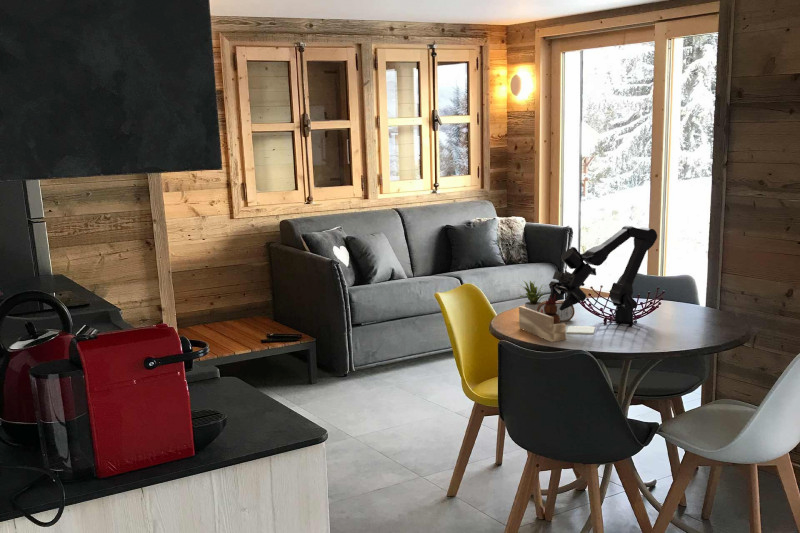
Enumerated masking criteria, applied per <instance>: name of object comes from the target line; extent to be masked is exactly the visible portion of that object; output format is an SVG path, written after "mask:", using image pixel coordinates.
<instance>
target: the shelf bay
mask: <svg viewBox="0 0 800 533" xmlns="http://www.w3.org/2000/svg"><path fill="white" fill-rule="evenodd" d="M518 323H519V324H518V327H519V328H521V329H524V330H526V331H528V332H527V333H529V332H531V333H533V334H532V335H534V334H535V335H534V336H536V335H537V336H536V337H538V336H539V337H538V338H541V339H543V338H544V339H543V340H545V341H546V340H547V341H548V342H557V341H558V342H559V341H565V340H567V339H566V338H567V331H566V328H567V327H566V326H567V325H566V323H564V322H563V323H562V322H560V324H554V318H553V317H551V316H548V315H546V314H543V313H540V312H537V311H534V310H531V309H529V308H526V307H525V306H523V305H520V306H518ZM519 328H518V329H519ZM521 329H520V330H521ZM524 330H523V331H524ZM526 331H525V332H526ZM531 333H530V334H531Z"/></svg>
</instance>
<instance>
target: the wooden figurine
mask: <svg viewBox="0 0 800 533" xmlns="http://www.w3.org/2000/svg"><path fill="white" fill-rule="evenodd" d="M545 301H546V305H545V306H544V312H545V314H546V315H548V316H551V317H553V318H554V324H561V322H560V317H559V315H558V314H556V312H557V306H556V294H555V295H554V299H553V300H552V296H551V298H550V300H549V297H548V298H547V300H545Z"/></svg>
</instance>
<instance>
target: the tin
mask: <svg viewBox="0 0 800 533" xmlns="http://www.w3.org/2000/svg"><path fill="white" fill-rule="evenodd" d="M563 302H564V300H557V301H556V306H557V312H556V314H558V315H559V317H560V323H562V322H563V323H564V322H568V321H570V320H572V319H573V317H574V316H575V312H576V311H575V307H574V305H572V306H570V307H568V308H566V309H564V310H562V311H561V310H560V309H559V308H560V307H561V305H562V303H563ZM545 305H546V300H544V301H541V303H540V304H539V306H538V308H537V312H540V313H543V314H545V312H544V306H545Z"/></svg>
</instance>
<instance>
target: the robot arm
mask: <svg viewBox="0 0 800 533" xmlns="http://www.w3.org/2000/svg"><path fill="white" fill-rule="evenodd" d="M631 238H633V249H632V252H631V254H630V257H629V259H628V261H627V263H626V267H625V268H624V271H623V274H622V276H621V277H620V280H619V281H618V282H617V283H616V282H613V283H612V285H611V287H610V288H611V289H610V290H608V291H609V298H610V301H611V302H612V305H613V306H614V307H616V309H615V310H614V322H616V323H615V324H623V325H627V324H628V325H633V324H634V310H635V309H636V308H637V306H638V302H637V301H636V300H635V299H634V298H633V295H634V288H633V286H634V282H635V280H636V277H637V275H638V273H639V270H640V267H641V265H642V263H643V261H644V258H645V256H646V253H647V252H648V251H649V250H650V249H651V248H652V247H653V246H654V245H655V243H656V242H657V239H658V234H657V231H656V229H654V228H648V227H639V228H638V227H635V226H632V225H631V226H630V225H624V226H622V227H621V229H619V230H618V231H617V232H616V233H614V234H613V235H611V236H610V237H609V238H607V239H606V240H605V241H603V243H601V244H599V245H596V246H593V247H591V248H589V249H587V250H585V252H583V253H580V252H579V251H578V249H577V248H576V247H574V246H571V247H570V248H569V249H566V250H565V251H563V252H562V253H561V255H560V260H561V261H562V262H563V263H564V264H565V265H566V266H567V267H568V268H569V269H570V270H573V271H572V272H569V271H564V272H561V271H559V270H558V271H557V270H555V271H554V273H553V276H552V279H553V280H551V281H550V282H549V283H548V287H549V290H550V294H549V297H548V298H549V300H550V298H551V296H552V300H553V299H554V295H555V294H556V301H560V299H561V298H563V296H564V295H565V294H566V297H565V299H564V300H563V301H564V302H563V303H562V305H561V307H560V308H559V309H560V310H561V311H562V310H564V309H566V308H568V307H570V306H572V305H573V306H575V305H577V304H580V303H583V302H585V301H586V299H587V294H586V293H585V292H584V291H583V290H582V288H581V287H584V286H585V283H584V282H586V280H587V279H588V277H589V276H590V275H592V276H597V268H596V267H592V266H597V267H598V266H599V267H600V266H601V265H602V264H604V263H605V261H607V259H608V257H609V255H610V254H611V253H612V252H613V251H615V250H616V249H617V248H619V247H620V246H621V245H622V244H624V243H625V242H627V241H628V240H629V239H631ZM556 280H557V281H556Z"/></svg>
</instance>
